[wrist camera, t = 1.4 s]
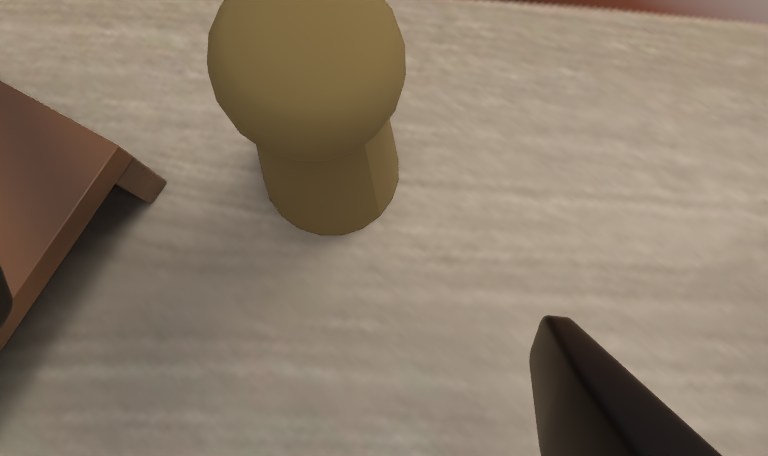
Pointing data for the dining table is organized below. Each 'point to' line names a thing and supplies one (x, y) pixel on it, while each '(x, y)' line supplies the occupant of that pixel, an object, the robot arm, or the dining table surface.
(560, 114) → the dining table surface
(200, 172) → the dining table surface
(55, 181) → the wooden stand
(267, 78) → the tan rounded tall piece
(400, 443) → the dining table surface
